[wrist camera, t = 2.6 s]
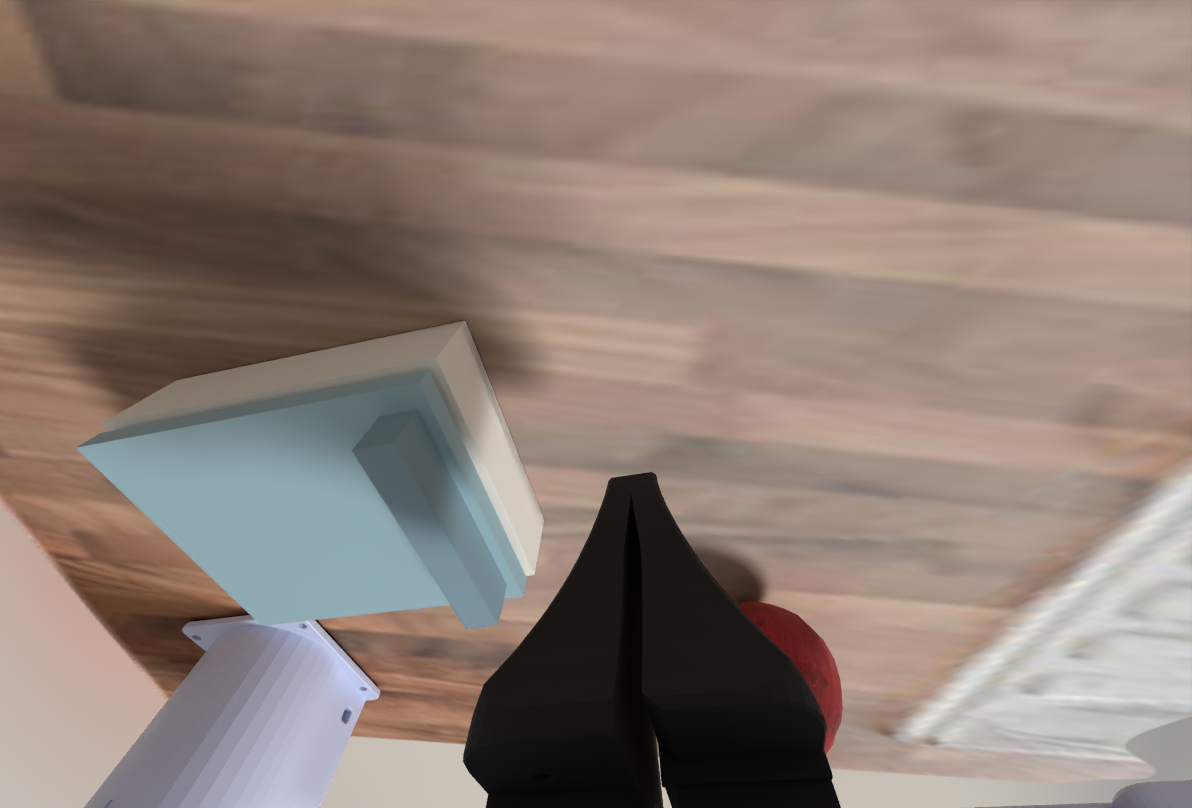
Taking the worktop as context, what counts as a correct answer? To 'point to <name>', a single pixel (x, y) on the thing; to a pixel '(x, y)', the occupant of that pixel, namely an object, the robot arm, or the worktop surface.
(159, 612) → the worktop surface
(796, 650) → the onion
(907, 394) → the worktop surface
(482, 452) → the box
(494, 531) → the lid
